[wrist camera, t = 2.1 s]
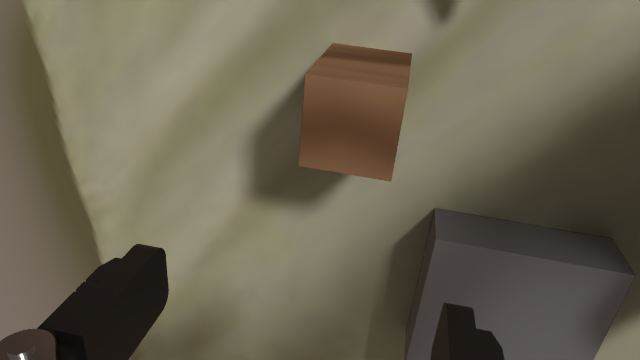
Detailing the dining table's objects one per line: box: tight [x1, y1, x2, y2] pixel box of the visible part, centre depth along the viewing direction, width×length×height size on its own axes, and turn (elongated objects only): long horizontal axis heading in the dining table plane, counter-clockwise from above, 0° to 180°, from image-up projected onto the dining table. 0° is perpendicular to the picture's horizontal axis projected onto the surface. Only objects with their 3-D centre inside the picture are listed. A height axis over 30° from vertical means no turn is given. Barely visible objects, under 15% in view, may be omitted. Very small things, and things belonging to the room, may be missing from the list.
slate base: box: [405, 208, 636, 360], centre depth 34 cm, size 12×12×4 cm
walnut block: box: [298, 43, 412, 181], centre depth 28 cm, size 5×5×8 cm
